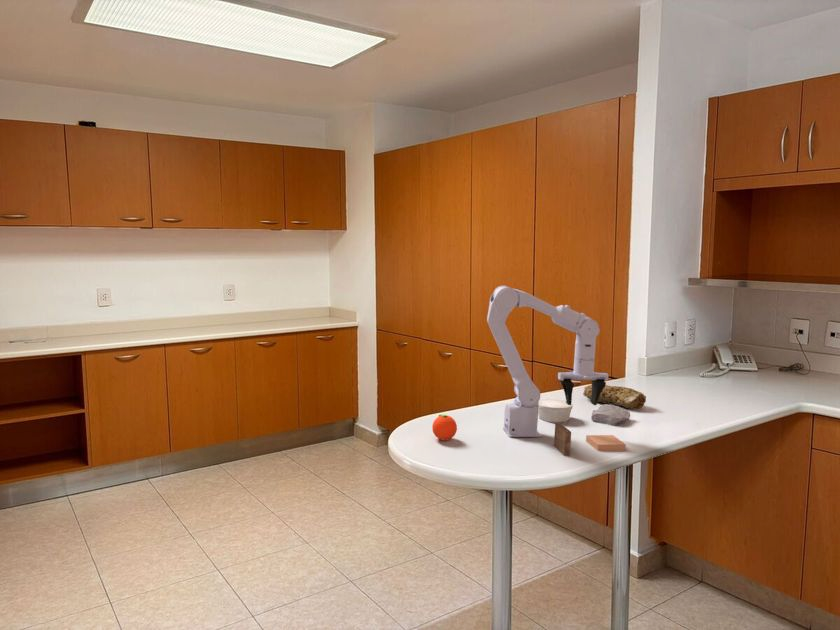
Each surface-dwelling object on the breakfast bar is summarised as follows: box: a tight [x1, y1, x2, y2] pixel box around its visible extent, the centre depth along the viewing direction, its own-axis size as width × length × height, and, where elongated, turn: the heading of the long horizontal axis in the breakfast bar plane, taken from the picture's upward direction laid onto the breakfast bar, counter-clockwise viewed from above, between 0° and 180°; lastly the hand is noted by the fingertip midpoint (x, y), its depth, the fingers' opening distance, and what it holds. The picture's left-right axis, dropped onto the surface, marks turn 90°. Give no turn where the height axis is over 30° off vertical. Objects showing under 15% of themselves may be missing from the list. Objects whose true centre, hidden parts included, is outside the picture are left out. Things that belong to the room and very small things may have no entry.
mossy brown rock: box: [582, 384, 647, 410], centre depth 217 cm, size 13×8×20 cm
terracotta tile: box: [585, 434, 627, 452], centre depth 171 cm, size 2×8×8 cm
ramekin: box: [538, 398, 573, 424], centre depth 196 cm, size 11×11×5 cm
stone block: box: [590, 403, 631, 426], centre depth 196 cm, size 12×5×10 cm
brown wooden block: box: [553, 423, 572, 457], centre depth 165 cm, size 2×8×6 cm, turn 7°
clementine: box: [431, 414, 458, 441], centre depth 171 cm, size 8×7×7 cm
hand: (581, 404), depth 178 cm, fingers open, 7 cm apart
